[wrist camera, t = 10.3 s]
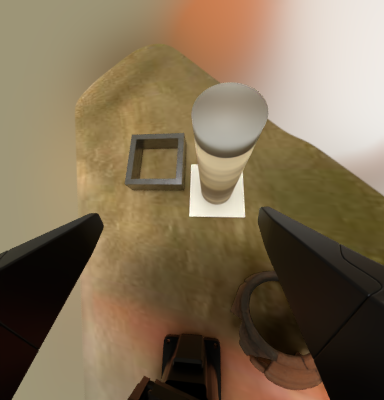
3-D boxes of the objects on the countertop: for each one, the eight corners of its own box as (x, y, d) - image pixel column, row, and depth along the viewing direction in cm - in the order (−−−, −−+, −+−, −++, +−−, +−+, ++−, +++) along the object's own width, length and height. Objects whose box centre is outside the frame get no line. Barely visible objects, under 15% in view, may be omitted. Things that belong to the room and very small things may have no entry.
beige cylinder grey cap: (232, 204, 22) (272, 142, 8) (201, 204, 22) (190, 145, 9) (231, 175, 23) (264, 79, 10) (201, 175, 23) (192, 85, 10)
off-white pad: (244, 217, 22) (245, 217, 21) (189, 216, 22) (189, 216, 22) (241, 165, 24) (242, 163, 23) (191, 165, 24) (191, 164, 24)
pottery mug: (222, 353, 18) (219, 350, 13) (240, 275, 24) (243, 249, 18) (356, 432, 14) (447, 484, 8) (339, 311, 19) (385, 291, 14)
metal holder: (184, 190, 24) (181, 184, 21) (132, 189, 24) (124, 184, 22) (186, 143, 26) (184, 133, 23) (138, 144, 26) (132, 134, 24)
